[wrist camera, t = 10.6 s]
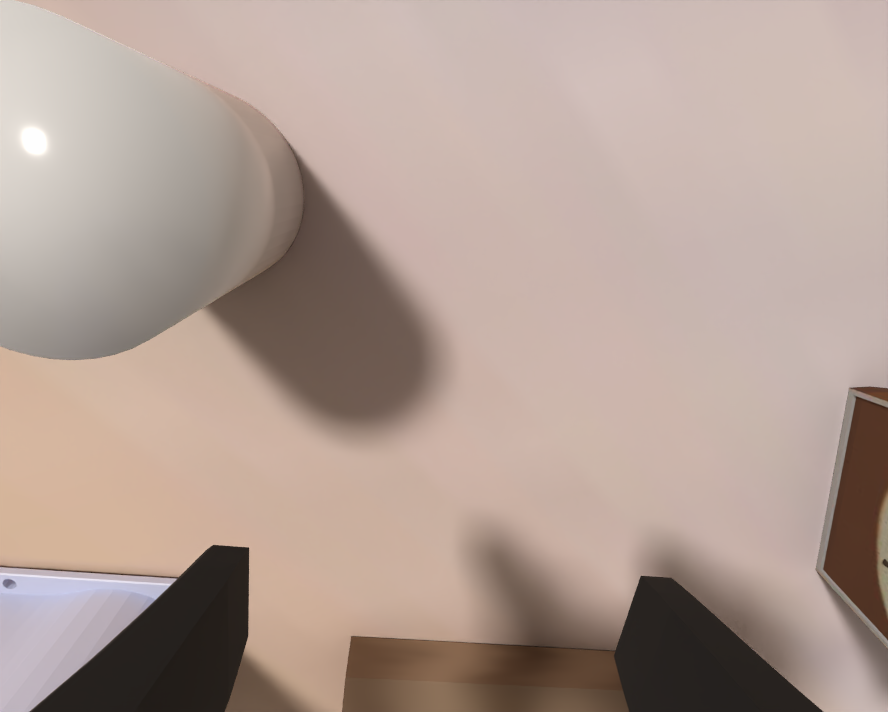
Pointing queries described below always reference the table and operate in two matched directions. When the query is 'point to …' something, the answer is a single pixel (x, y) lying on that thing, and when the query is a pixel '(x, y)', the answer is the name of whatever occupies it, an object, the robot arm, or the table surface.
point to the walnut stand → (478, 678)
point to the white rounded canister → (125, 190)
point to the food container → (860, 511)
